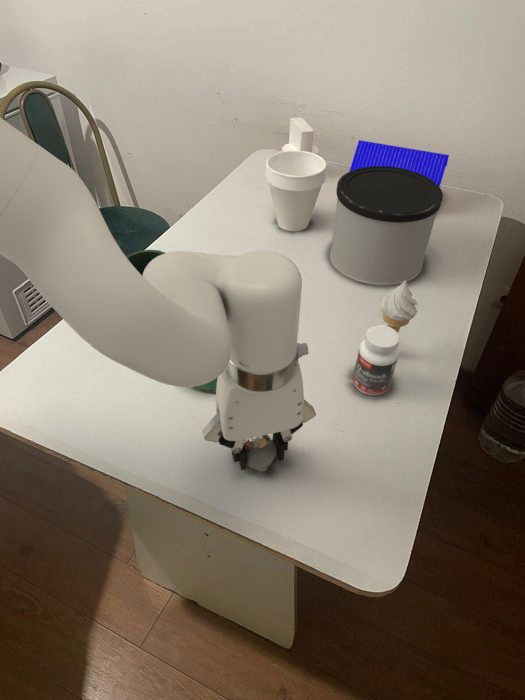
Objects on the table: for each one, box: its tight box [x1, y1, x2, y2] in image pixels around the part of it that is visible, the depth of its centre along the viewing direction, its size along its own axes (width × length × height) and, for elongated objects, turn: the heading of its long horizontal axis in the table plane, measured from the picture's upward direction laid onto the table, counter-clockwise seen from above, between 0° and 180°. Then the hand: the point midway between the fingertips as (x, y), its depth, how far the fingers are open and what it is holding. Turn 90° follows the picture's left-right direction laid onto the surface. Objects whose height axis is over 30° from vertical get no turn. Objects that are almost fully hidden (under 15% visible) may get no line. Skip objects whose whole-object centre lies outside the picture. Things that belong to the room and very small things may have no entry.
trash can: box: [125, 249, 166, 275], centre depth 88 cm, size 9×9×10 cm
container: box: [329, 166, 444, 287], centre depth 98 cm, size 19×19×15 cm
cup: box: [265, 150, 328, 232], centre depth 108 cm, size 12×12×14 cm
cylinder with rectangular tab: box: [281, 116, 319, 155], centre depth 126 cm, size 9×9×12 cm
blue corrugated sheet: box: [348, 139, 450, 188], centre depth 118 cm, size 12×20×12 cm, turn 68°
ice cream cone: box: [380, 280, 419, 334], centre depth 78 cm, size 6×6×15 cm
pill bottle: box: [352, 324, 400, 396], centre depth 76 cm, size 6×6×10 cm
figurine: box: [244, 434, 277, 472], centre depth 67 cm, size 5×4×6 cm
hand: (259, 455), depth 68 cm, fingers closed on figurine, 4 cm apart
